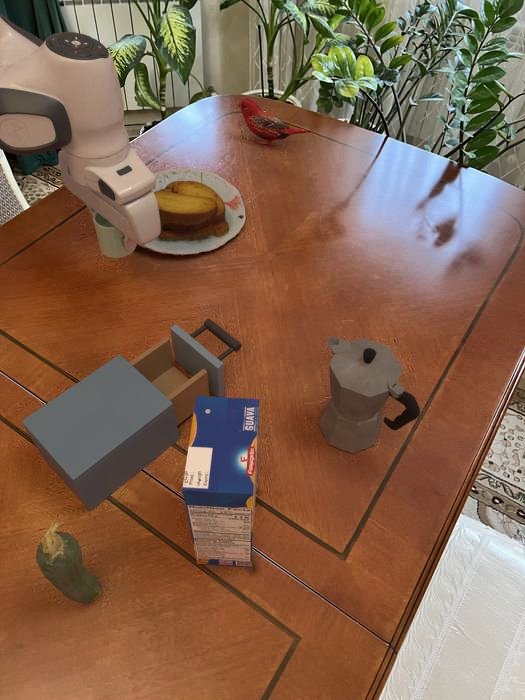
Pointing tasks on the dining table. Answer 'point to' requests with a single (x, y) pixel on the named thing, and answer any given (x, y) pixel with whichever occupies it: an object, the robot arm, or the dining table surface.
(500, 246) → the dining table surface
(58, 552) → the vegetable
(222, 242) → the food on plate
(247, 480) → the beverage box
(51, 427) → the cabinet
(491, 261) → the dining table surface
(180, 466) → the dining table surface
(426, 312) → the dining table surface
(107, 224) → the cup
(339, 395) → the coffeepot
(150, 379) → the drawer
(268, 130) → the decorative bird figurine
